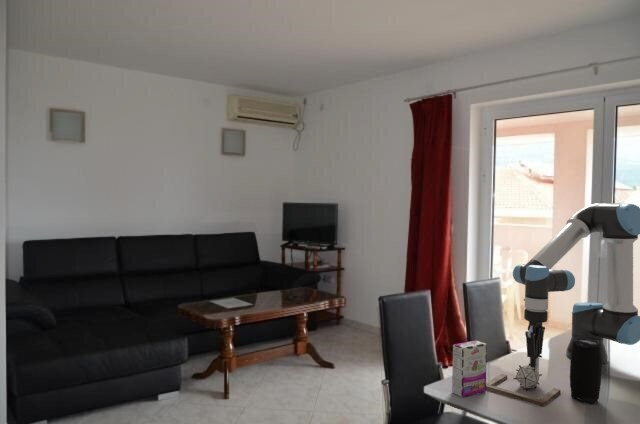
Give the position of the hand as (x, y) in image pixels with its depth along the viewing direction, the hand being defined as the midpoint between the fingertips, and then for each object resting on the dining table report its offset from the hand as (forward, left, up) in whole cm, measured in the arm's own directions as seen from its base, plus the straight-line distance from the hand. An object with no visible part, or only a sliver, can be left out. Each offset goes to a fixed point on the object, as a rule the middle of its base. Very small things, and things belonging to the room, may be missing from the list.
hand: (533, 375), depth 171 cm
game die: (+7, 0, -3) cm, 8 cm away
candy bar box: (+26, -12, -3) cm, 29 cm away
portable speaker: (+3, +17, -3) cm, 18 cm away
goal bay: (+10, 0, -3) cm, 10 cm away
